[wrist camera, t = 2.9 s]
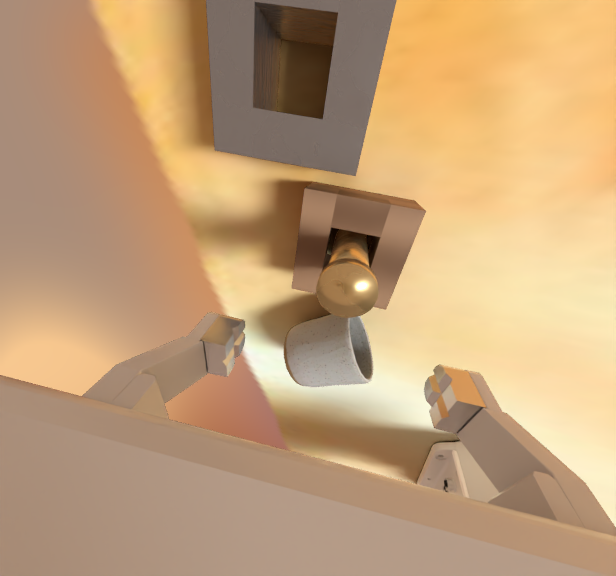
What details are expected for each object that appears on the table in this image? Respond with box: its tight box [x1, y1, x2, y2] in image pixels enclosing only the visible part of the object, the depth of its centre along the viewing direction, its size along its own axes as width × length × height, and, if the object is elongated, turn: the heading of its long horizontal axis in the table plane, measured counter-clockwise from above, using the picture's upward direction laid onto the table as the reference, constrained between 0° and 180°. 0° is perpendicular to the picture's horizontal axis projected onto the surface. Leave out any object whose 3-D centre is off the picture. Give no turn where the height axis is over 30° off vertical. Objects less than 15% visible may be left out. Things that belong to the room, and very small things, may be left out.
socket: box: [206, 0, 396, 176], centre depth 15 cm, size 10×10×5 cm
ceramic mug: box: [284, 314, 373, 387], centre depth 27 cm, size 11×8×8 cm
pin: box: [316, 229, 378, 318], centre depth 19 cm, size 4×4×10 cm
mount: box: [292, 182, 426, 309], centre depth 21 cm, size 9×9×4 cm
